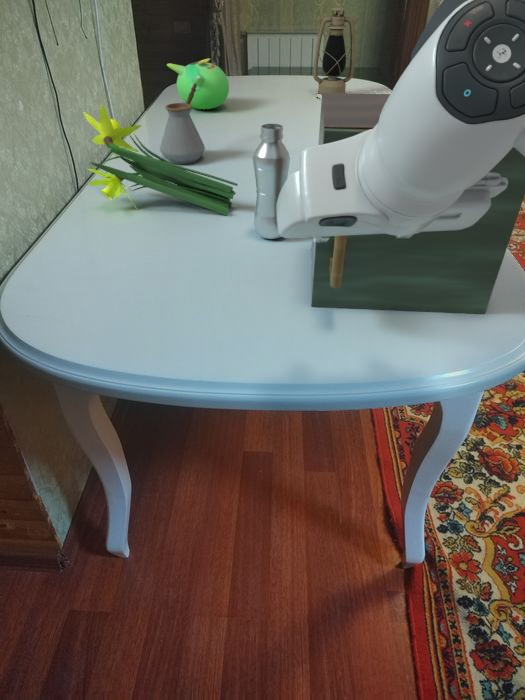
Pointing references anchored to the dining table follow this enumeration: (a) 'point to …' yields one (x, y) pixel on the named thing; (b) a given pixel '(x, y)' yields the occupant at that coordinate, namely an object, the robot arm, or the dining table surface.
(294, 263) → the dining table surface
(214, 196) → the daffodil flowers
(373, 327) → the dining table surface
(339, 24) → the lantern
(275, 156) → the silver bottle
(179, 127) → the coffee pot
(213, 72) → the toy bird
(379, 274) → the cupboard door
